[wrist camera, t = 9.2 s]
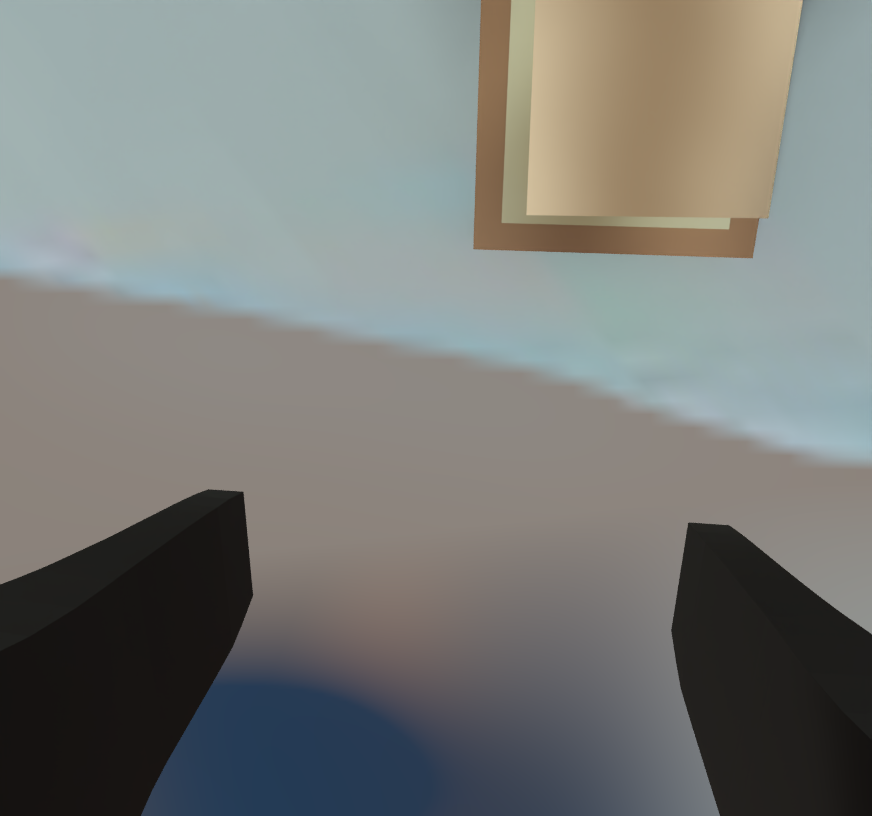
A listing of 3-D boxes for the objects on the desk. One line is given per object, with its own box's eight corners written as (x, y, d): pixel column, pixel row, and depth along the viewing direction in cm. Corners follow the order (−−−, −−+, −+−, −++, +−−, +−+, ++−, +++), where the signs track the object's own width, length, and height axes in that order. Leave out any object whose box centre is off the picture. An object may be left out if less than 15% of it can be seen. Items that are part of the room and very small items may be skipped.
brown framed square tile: (789, -56, 17) (808, -69, 16) (739, 250, 20) (753, 258, 18) (486, -53, 18) (483, -65, 17) (476, 241, 20) (473, 249, 19)
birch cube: (740, -16, 16) (812, -61, 12) (713, 195, 18) (768, 218, 14) (535, -12, 17) (537, -54, 13) (527, 193, 19) (526, 215, 14)
